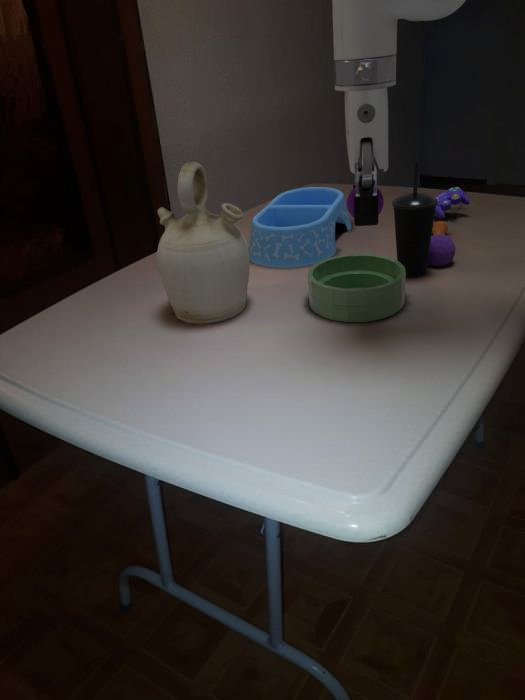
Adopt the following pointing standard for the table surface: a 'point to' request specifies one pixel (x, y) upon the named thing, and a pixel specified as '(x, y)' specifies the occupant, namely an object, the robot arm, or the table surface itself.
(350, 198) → the ball
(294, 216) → the dog bowl
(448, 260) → the maraca
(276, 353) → the table surface
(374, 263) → the bowl
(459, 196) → the game controller
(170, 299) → the jug
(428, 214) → the drinking cup
